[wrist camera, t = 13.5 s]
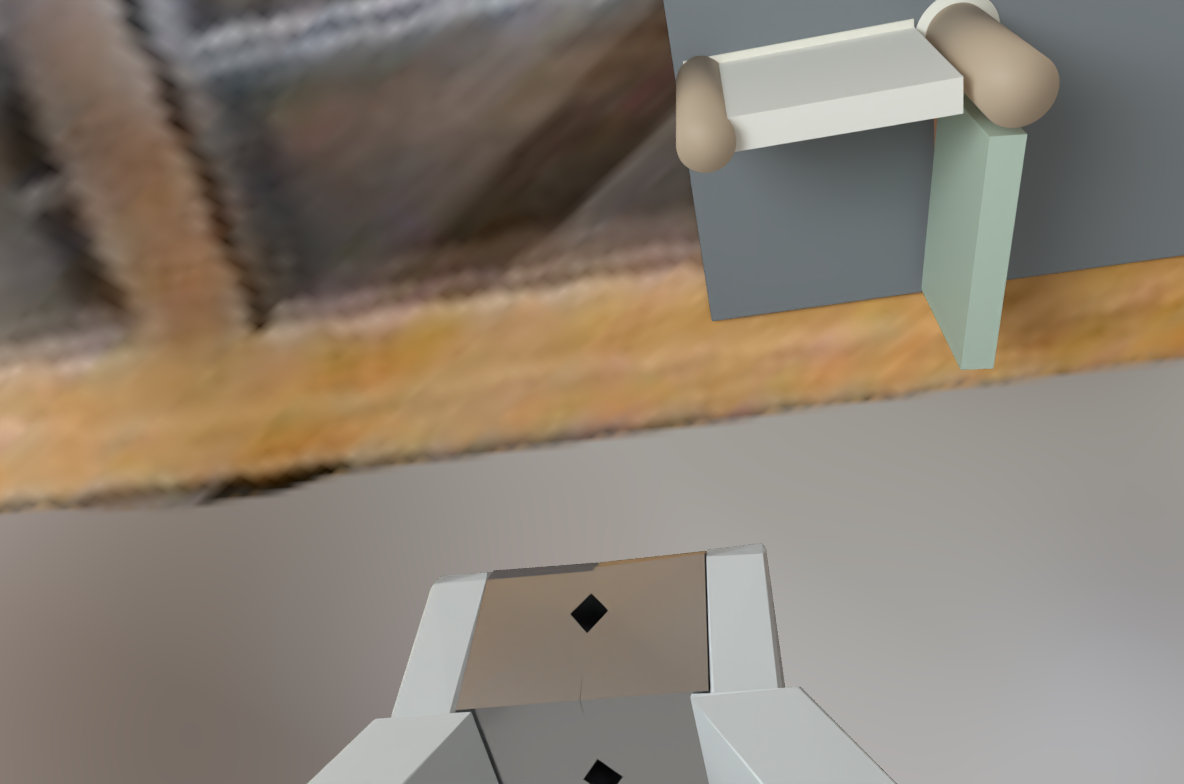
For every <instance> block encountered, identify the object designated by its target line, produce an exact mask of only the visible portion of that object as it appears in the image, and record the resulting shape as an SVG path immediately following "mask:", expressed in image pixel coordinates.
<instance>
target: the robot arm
mask: <svg viewBox="0 0 1184 784" xmlns="http://www.w3.org/2000/svg"><path fill="white" fill-rule="evenodd" d="M307 784H897V783H896V782H895V781H894V780H893V779H892V778H891V777H889V775H888V774H887V773H886V772H884V770H883V769H882V768H881V767H880V766H879V765H878V764H877V763H876V762H875V761H874V760H873V759H872V758H871V757H870V756H869V755H868V754H867V753H866V752H865V751H864V750H863V749H862V748H861V747H860V746H859V745H858V744H857V743H856V742H855V741H854V740H853V739H852V738H851V737H850V736H849V735H848V734H847V733H846V732H845V731H844V730H843V729H842V728H841V727H840V726H839V725H838V724H837V723H836V722H835V721H834V720H833V719H832V718H831V717H830V716H829V715H828V714H827V713H826V712H825V711H824V710H823V709H822V708H821V707H820V706H819V705H818V704H817V703H816V702H815V701H814V700H813V699H812V698H811V697H810V696H809V695H808V694H807V693H806V692H805V691H804V690H803V689H802V688H801V687H788V688H785V683H784V676H783V668H782V661H781V654H780V646H779V640H778V632H777V625H776V618H775V610H774V603H773V596H772V588H771V581H770V574H769V567H768V560H767V553H766V548H765V547H764V545H763V544H762V543H760V544H751V545H743V546H734V547H726V548H718V549H709V550H708V551H701V552H692V553H683V554H673V555H664V556H655V557H645V558H636V559H627V560H618V561H608V562H600V563H587V564H574V565H561V566H548V567H535V568H522V569H510V570H496V571H493V572H484V573H470V574H457V575H445V576H441V577H440V578H439V579H438V580H437V581H436V582H435V584H434V585H433V586H432V588H431V590H430V593H429V596H428V600H427V603H426V606H425V609H424V613H423V616H422V619H421V622H420V625H419V629H418V632H417V635H416V638H415V641H414V645H413V648H412V651H411V654H410V657H409V661H408V664H407V667H406V670H405V674H404V677H403V680H402V683H401V686H400V690H399V693H398V696H397V699H396V702H395V706H394V709H393V713H392V715H391V718H382V719H374V721H372V722H371V723H370V724H369V725H368V726H367V727H366V728H365V729H364V730H363V731H362V732H361V733H360V734H359V735H358V736H356V737H355V739H353V740H352V741H351V742H350V743H349V744H348V745H347V746H346V747H345V748H344V749H343V750H342V751H341V752H340V753H339V754H338V755H337V756H336V757H335V758H333V759H332V760H331V761H330V762H329V763H328V764H327V765H326V766H325V767H324V768H323V769H322V770H321V771H320V772H319V773H318V774H317V775H316V776H315V777H314V778H313V779H311V780H310V781H309V782H308V783H307Z"/></svg>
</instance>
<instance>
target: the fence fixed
mask: <svg viewBox="0 0 1184 784" xmlns="http://www.w3.org/2000/svg"><path fill="white" fill-rule="evenodd" d="M1059 84H1060V80H1059V74H1058V71H1057V68H1056V66H1055V65H1054V63H1053V62H1052V61H1051V60H1050V59H1049V58H1047V57H1046V56H1045V55H1043V54H1042V53H1041V52H1039V51H1038V50H1037V49H1035V48H1034V47H1032V46H1031V45H1030V44H1028V43H1027V42H1026V41H1024V40H1023V39H1022V38H1020V37H1019V36H1017V35H1016V34H1015V33H1013V32H1012V31H1011V30H1009V29H1008V28H1007V27H1005V26H1004V25H1002V24H1001V23H1000V22H998V21H997V20H996V19H994V18H993V17H992V16H990V15H989V14H987V13H986V12H985V11H983V10H982V9H981V8H979V7H978V6H976V5H974V4H971V3H966V2H960V3H955V4H951V5H949V6H947V7H945V8H943V9H942V10H941V11H939V12H938V13H937V14H936V15H935V16H934V18H933V19H932V20H931V22H930V24H929V26H928V28H927V31H926V36H925V37H924V36H923V35H922V34H921V33H920V32H919V31H918V30H917V29H916V28H915V27H911V28H906V29H901V30H895V31H890V32H884V33H879V34H873V35H868V36H862V37H857V38H852V39H846V40H841V41H835V42H830V43H824V44H819V45H813V46H808V47H803V48H797V49H792V50H786V51H781V52H775V53H770V54H765V55H759V56H754V57H748V58H743V59H737V60H732V61H726V62H721V63H718V62H717V61H716V60H714V59H712V58H710V57H708V56H695V57H692V58H690V59H688V60H687V61H686V62H685V63H684V64H683V65H682V66H681V67H680V69H679V71H678V73H677V77H676V149H677V153H678V156H679V158H680V160H681V161H682V163H683V164H684V165H685V166H687V167H688V168H689V169H691V170H693V171H696V172H700V173H710V172H714V171H717V170H719V169H721V168H723V167H724V166H725V165H726V164H727V163H728V162H729V161H730V160H731V158H732V157H733V155H734V152H738V151H743V150H749V149H755V148H761V147H767V146H773V145H779V144H785V143H791V142H797V141H803V140H809V139H815V138H821V137H827V136H833V135H839V134H845V133H851V132H856V131H862V130H868V129H874V128H880V127H886V126H892V125H898V124H904V123H910V122H916V121H922V120H928V119H934V118H940V117H946V116H952V115H958V114H963V92H964V93H965V94H966V95H967V96H968V98H969V99H970V100H971V101H972V102H973V103H974V104H975V105H976V106H977V107H978V108H979V109H980V110H981V111H982V112H983V114H984V115H985V116H986V117H987V118H988V119H989V120H990V121H991V122H993V123H994V124H996V125H998V126H1001V127H1006V128H1019V127H1023V126H1026V125H1029V124H1031V123H1033V122H1035V121H1037V120H1038V119H1039V118H1041V117H1042V116H1043V115H1044V114H1045V113H1046V112H1047V111H1048V110H1049V109H1050V108H1051V106H1052V105H1053V103H1054V101H1055V99H1056V97H1057V94H1058V91H1059Z"/></svg>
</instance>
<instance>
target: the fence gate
mask: <svg viewBox="0 0 1184 784" xmlns="http://www.w3.org/2000/svg"><path fill="white" fill-rule="evenodd" d="M1026 140H1027V133H1026V132H1025V131H1024V130H1023V129H1022V128H1021V127H1019V128H1006V127H1001V126H998V125H996V124H994V123H993V122H991V121H990V120H989V119H988V118H987V117H986V116H985V115H984V114H983V112H982V111H981V110H980V109H979V108H978V107H977V106H976V105H975V104H974V103H973V102H972V101H971V100H970V99H969V98H968V96H967V95H966V94H965V93H964V92H963V114H958V115H952V116H946V117H940V118H937V128H936V138H935V149H934V160H933V170H932V181H931V191H930V202H929V212H928V223H927V234H926V244H925V255H924V265H923V276H922V286H921V289H922V291H923V293H924V296H925V298H926V300H927V302H928V304H929V306H930V308H931V310H932V312H933V314H934V316H935V318H936V320H937V322H938V324H939V326H940V328H941V330H942V332H943V335H944V337H945V339H946V341H947V343H948V345H949V347H950V349H951V351H952V353H953V355H954V357H955V359H956V361H957V363H958V365H959V367H960V369H961V370H968V369H993V368H994V361H995V354H996V347H997V340H998V334H999V327H1000V320H1001V313H1002V306H1003V299H1004V292H1005V285H1006V278H1007V271H1008V264H1009V258H1010V251H1011V244H1012V237H1013V230H1014V223H1015V216H1016V209H1017V202H1018V195H1019V188H1020V181H1021V175H1022V168H1023V161H1024V154H1025V147H1026Z"/></svg>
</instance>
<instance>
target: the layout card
mask: <svg viewBox="0 0 1184 784" xmlns="http://www.w3.org/2000/svg"><path fill="white" fill-rule="evenodd" d="M960 2H966V3H971V4H974V5H976V6H978V7H979V8H981V9H982V10H983V11H985V12H986V13H987V14H989V15H990V16H992V17H993V18H994V19H996V20H997V21H998V22H1000V23H1001V24H1002V25H1004V26H1005V27H1007V28H1008V29H1009V30H1011V31H1012V32H1013V33H1015V34H1016V35H1017V36H1019V37H1020V38H1022V39H1023V40H1024V41H1026V42H1027V43H1028V44H1030V45H1031V46H1032V47H1034V48H1035V49H1037V50H1038V51H1039V52H1041V53H1042V54H1043V55H1045V56H1046V57H1047V58H1049V59H1050V60H1051V61H1052V62H1053V63H1054V65H1055V66H1056V68H1057V71H1058V74H1059V80H1060V84H1059V91H1058V94H1057V97H1056V99H1055V101H1054V103H1053V105H1052V106H1051V108H1050V109H1049V110H1048V111H1047V112H1046V113H1045V114H1044V115H1043V116H1042V117H1041V118H1039V119H1038V120H1037V121H1035V122H1033V123H1031V124H1029V125H1026V126H1023V127H1021V128H1022V129H1023V130H1024V131H1025V132H1026V133H1027V140H1026V147H1025V154H1024V161H1023V168H1022V175H1021V181H1020V188H1019V195H1018V202H1017V209H1016V216H1015V223H1014V230H1013V237H1012V244H1011V251H1010V258H1009V264H1008V271H1007V278H1006V280H1010V279H1017V278H1024V277H1031V276H1039V275H1046V274H1053V273H1060V272H1067V271H1074V270H1082V269H1089V268H1096V267H1103V266H1110V265H1117V264H1124V263H1132V262H1139V261H1146V260H1153V259H1160V258H1167V257H1174V256H1182V255H1184V0H664V7H665V13H666V20H667V27H668V33H669V40H670V47H671V53H672V60H673V66H674V73H675V80H676V77H677V73H678V71H679V69H680V67H681V66H682V65H683V64H684V63H685V62H686V61H687V60H688V59H690V58H692V57H695V56H708V57H710V58H712V59H714V60H716V61H717V62H718V63H721V62H726V61H732V60H737V59H743V58H748V57H754V56H759V55H765V54H770V53H775V52H781V51H786V50H792V49H797V48H803V47H808V46H813V45H819V44H824V43H830V42H835V41H841V40H846V39H852V38H857V37H862V36H868V35H873V34H879V33H884V32H890V31H895V30H901V29H906V28H911V27H915V28H916V29H917V30H918V31H919V32H920V33H921V34H922V35H923V36H924V37H925V36H926V31H927V28H928V26H929V24H930V22H931V20H932V19H933V18H934V16H935V15H936V14H937V13H938V12H939V11H941V10H942V9H943V8H945V7H947V6H949V5H951V4H955V3H960ZM936 128H937V118H934V119H928V120H922V121H916V122H910V123H904V124H898V125H892V126H886V127H880V128H874V129H868V130H862V131H856V132H851V133H845V134H839V135H833V136H827V137H821V138H815V139H809V140H803V141H797V142H791V143H785V144H779V145H773V146H767V147H761V148H755V149H749V150H743V151H738V152H734V155H733V157H732V158H731V160H730V161H729V162H728V163H727V164H726V165H725V166H724V167H723V168H721V169H719V170H717V171H714V172H710V173H700V172H696V171H693V170H691V169H689V172H690V179H691V186H692V192H693V199H694V206H695V212H696V219H697V225H698V232H699V239H700V245H701V252H702V259H703V265H704V272H705V278H706V285H707V292H708V298H709V305H710V312H711V318H712V321H717V320H724V319H731V318H739V317H746V316H753V315H760V314H767V313H774V312H781V311H789V310H796V309H803V308H810V307H817V306H824V305H831V304H839V303H846V302H853V301H860V300H867V299H874V298H881V297H889V296H896V295H903V294H910V293H917V292H923V291H922V289H921V286H922V276H923V265H924V255H925V244H926V234H927V223H928V212H929V202H930V191H931V181H932V170H933V160H934V149H935V138H936Z"/></svg>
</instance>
